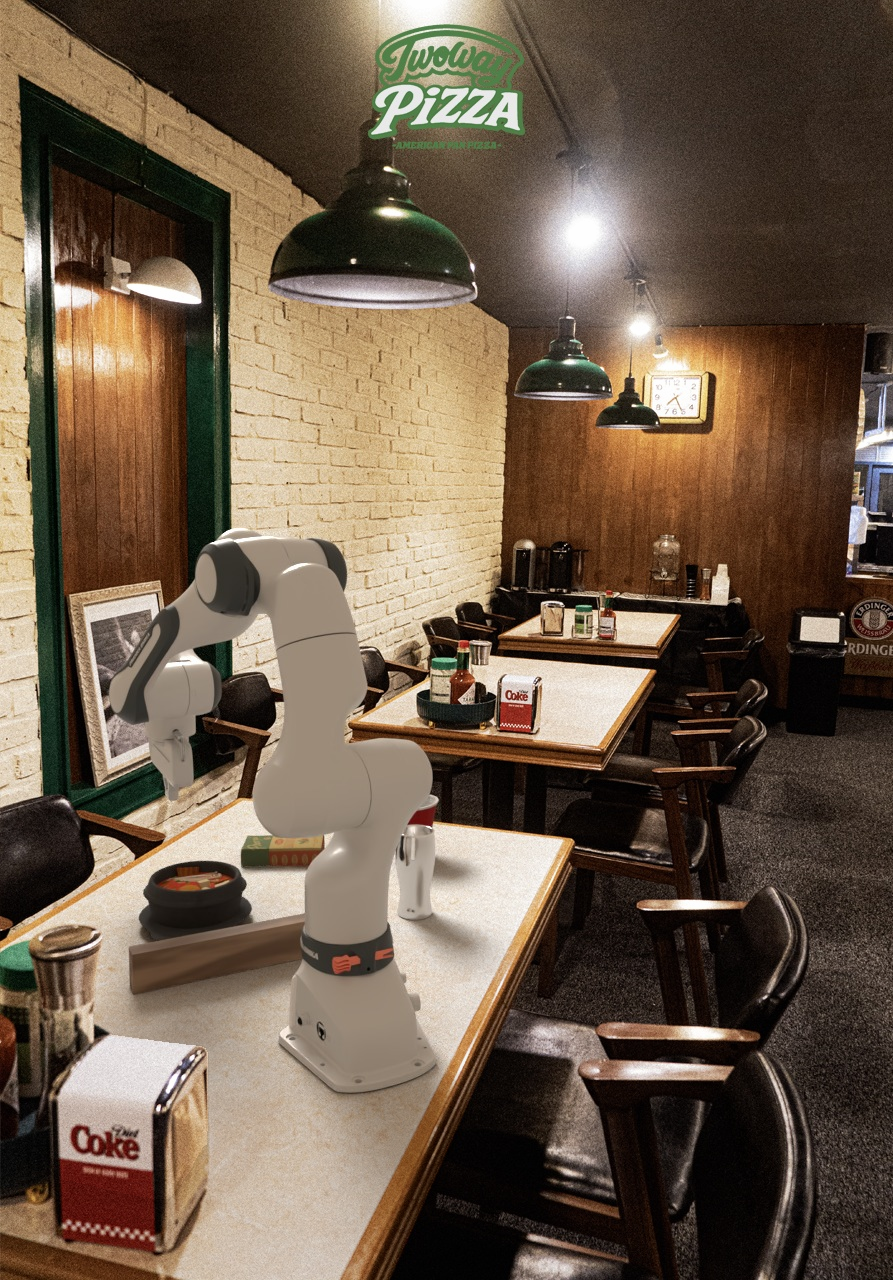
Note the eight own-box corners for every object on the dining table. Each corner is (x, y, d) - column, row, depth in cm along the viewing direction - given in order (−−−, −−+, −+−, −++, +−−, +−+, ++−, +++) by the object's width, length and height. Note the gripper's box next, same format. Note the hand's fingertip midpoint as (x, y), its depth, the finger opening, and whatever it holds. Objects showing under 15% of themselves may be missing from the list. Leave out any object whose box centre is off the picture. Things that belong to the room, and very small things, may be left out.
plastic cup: (387, 846, 201) (387, 791, 200) (438, 847, 201) (439, 792, 200) (383, 865, 191) (383, 806, 189) (437, 866, 190) (438, 807, 189)
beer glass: (387, 911, 168) (387, 829, 166) (418, 902, 172) (418, 821, 170) (411, 924, 163) (412, 839, 161) (442, 914, 167) (443, 831, 165)
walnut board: (317, 955, 151) (317, 919, 150) (133, 994, 138) (132, 954, 137) (310, 947, 153) (310, 912, 153) (129, 985, 140) (128, 946, 140)
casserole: (149, 897, 173) (148, 852, 172) (254, 891, 176) (253, 847, 175) (127, 959, 149) (126, 907, 148) (249, 951, 152) (248, 901, 151)
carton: (321, 867, 190) (321, 847, 189) (240, 868, 189) (239, 847, 188) (324, 853, 198) (324, 833, 197) (246, 853, 197) (246, 833, 196)
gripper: (201, 735, 166) (203, 812, 168) (175, 712, 184) (177, 782, 186) (164, 738, 163) (166, 817, 165) (142, 715, 181) (143, 786, 183)
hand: (171, 798), depth 175 cm, fingers closed
